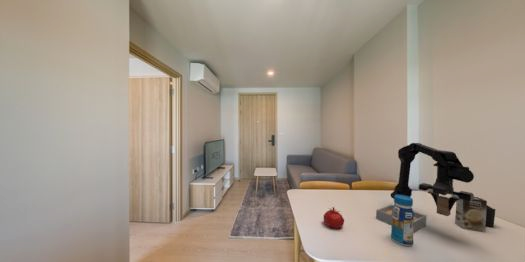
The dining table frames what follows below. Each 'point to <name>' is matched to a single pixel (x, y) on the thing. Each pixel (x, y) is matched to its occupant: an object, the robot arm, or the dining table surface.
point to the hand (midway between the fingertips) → (443, 208)
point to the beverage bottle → (402, 220)
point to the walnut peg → (443, 205)
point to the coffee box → (471, 214)
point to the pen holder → (490, 216)
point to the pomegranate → (333, 218)
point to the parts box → (385, 216)
